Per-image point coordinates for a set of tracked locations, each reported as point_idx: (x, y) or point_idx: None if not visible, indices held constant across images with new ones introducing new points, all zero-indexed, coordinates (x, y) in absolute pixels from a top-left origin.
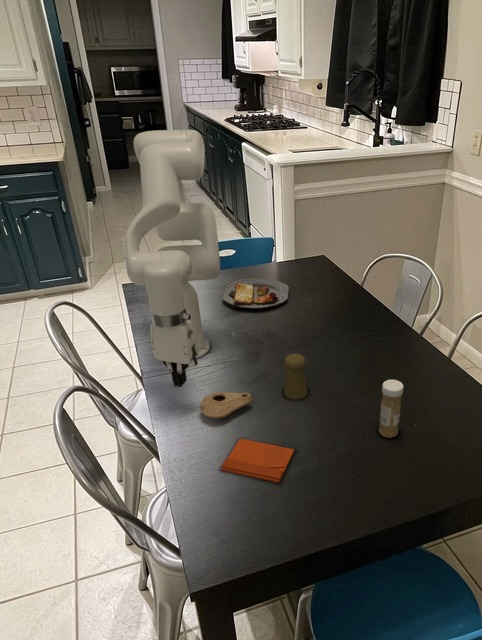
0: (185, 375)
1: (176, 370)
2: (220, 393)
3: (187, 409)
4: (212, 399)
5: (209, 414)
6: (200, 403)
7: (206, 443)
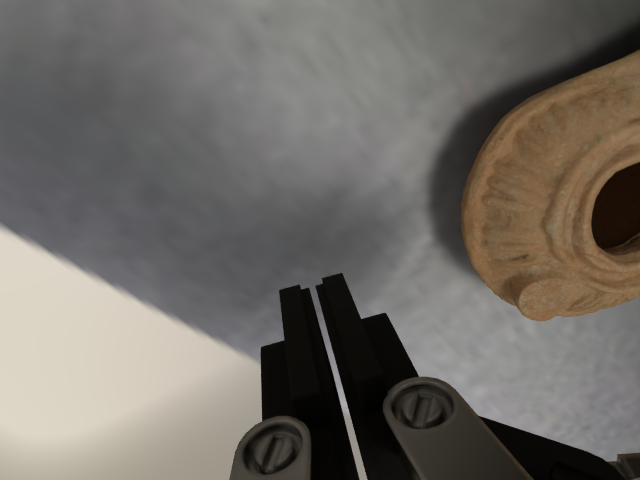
0: (402, 352)
1: (342, 466)
2: (629, 165)
3: (343, 248)
4: (611, 265)
5: (584, 312)
6: (521, 308)
7: (575, 369)
